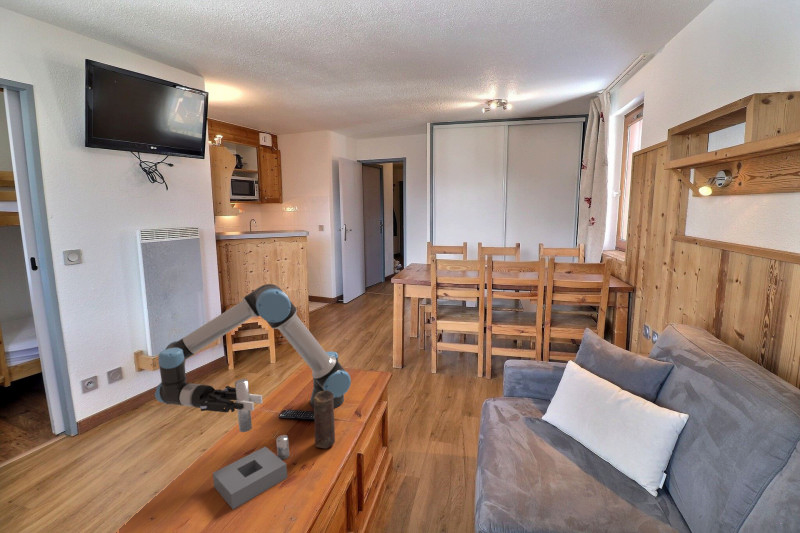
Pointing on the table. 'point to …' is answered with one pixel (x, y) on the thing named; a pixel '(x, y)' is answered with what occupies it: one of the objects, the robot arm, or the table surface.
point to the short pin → (282, 447)
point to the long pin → (243, 395)
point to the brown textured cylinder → (324, 419)
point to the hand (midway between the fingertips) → (257, 402)
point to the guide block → (249, 476)
